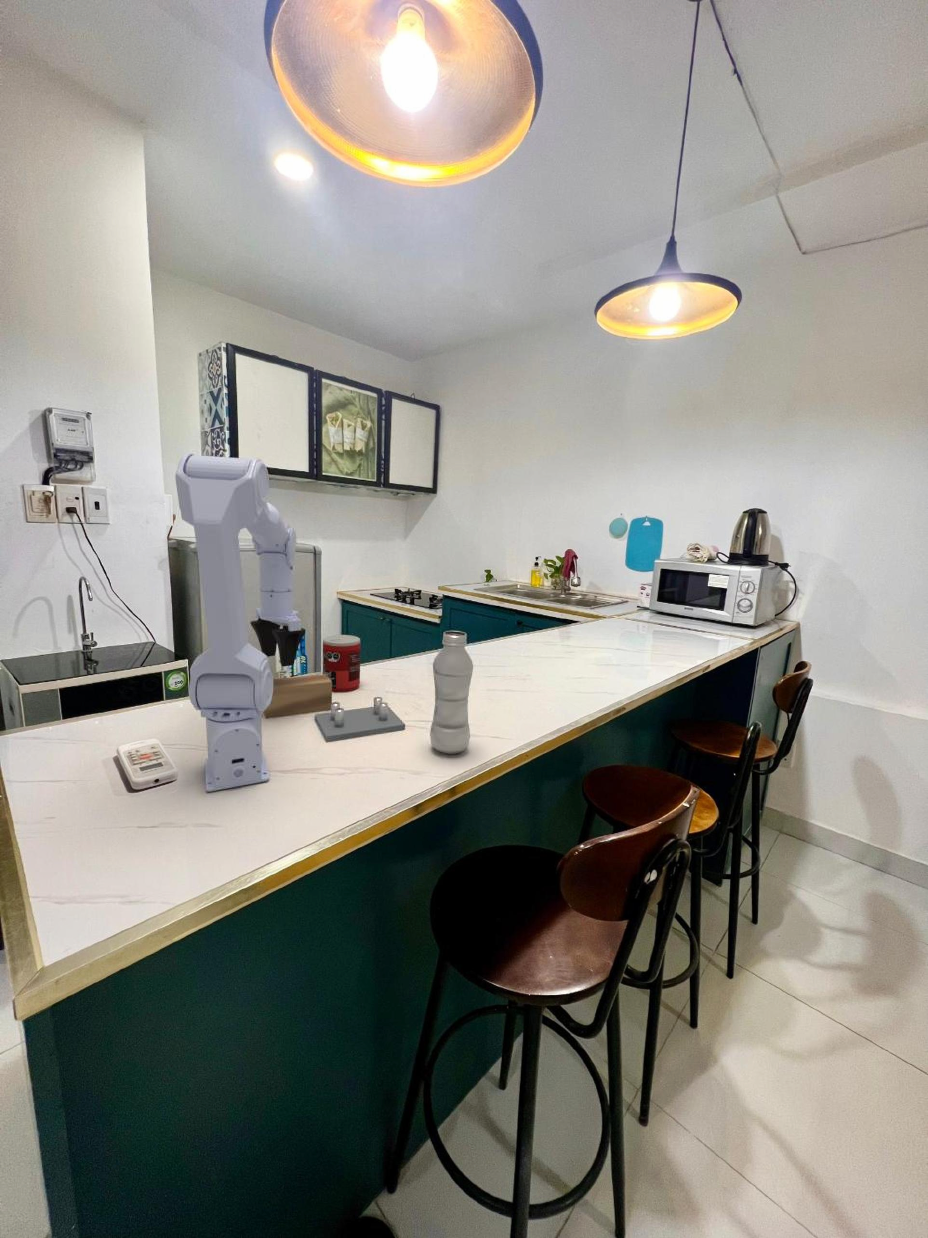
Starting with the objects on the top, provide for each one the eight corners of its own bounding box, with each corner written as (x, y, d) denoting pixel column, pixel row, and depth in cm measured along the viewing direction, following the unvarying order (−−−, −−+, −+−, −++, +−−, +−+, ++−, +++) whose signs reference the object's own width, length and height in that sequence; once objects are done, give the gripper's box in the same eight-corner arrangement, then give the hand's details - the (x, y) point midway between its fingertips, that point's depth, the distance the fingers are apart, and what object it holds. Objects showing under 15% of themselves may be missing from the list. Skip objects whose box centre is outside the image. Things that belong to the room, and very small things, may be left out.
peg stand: (405, 729, 88) (405, 708, 88) (326, 742, 82) (326, 719, 81) (386, 709, 97) (387, 690, 96) (314, 719, 90) (314, 699, 90)
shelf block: (331, 711, 95) (331, 681, 94) (266, 719, 90) (265, 688, 89) (326, 702, 100) (326, 674, 98) (263, 709, 94) (262, 680, 93)
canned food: (320, 682, 110) (320, 635, 108) (355, 679, 114) (356, 633, 111) (325, 694, 103) (325, 644, 101) (363, 690, 107) (364, 642, 105)
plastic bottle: (465, 761, 78) (472, 640, 74) (424, 755, 79) (429, 635, 75) (472, 744, 84) (479, 631, 80) (434, 738, 85) (439, 627, 81)
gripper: (316, 594, 88) (316, 666, 91) (279, 583, 98) (280, 649, 101) (278, 596, 83) (280, 673, 86) (243, 585, 93) (246, 654, 96)
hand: (278, 660), depth 93 cm, fingers open, 7 cm apart
